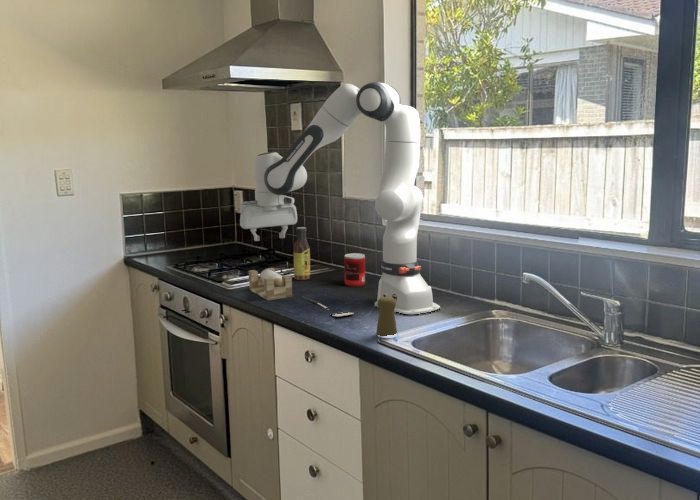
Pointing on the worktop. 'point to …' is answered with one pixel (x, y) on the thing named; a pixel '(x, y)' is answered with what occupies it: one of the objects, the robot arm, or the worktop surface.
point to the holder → (270, 286)
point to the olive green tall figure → (386, 316)
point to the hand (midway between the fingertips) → (269, 239)
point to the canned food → (354, 269)
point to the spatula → (326, 307)
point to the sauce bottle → (301, 255)
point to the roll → (272, 277)
